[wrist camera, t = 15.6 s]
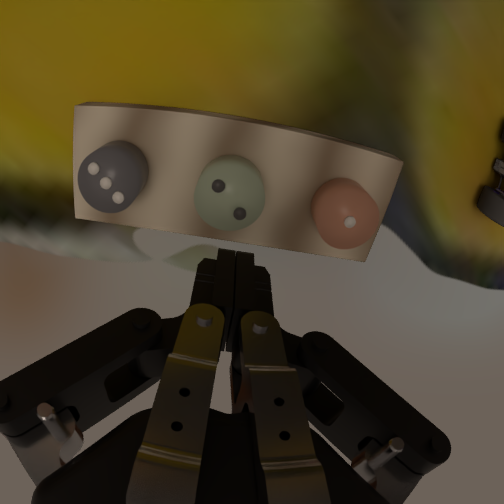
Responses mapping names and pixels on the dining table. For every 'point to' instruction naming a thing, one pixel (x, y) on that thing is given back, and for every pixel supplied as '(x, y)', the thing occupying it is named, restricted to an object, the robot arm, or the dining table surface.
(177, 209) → the button board
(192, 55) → the dining table surface
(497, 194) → the toy race car
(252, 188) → the button
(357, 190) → the button
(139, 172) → the button
